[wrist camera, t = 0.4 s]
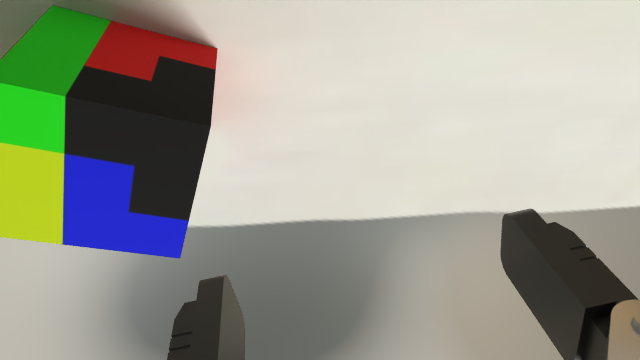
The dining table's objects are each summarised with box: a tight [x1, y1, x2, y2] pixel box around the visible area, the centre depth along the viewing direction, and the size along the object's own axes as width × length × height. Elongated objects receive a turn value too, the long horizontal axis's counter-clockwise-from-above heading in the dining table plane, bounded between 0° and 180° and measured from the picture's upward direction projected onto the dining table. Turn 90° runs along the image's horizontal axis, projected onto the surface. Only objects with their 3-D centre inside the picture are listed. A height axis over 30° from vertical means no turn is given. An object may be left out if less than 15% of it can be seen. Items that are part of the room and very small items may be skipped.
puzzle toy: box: [0, 5, 217, 258], centre depth 28 cm, size 10×10×10 cm
